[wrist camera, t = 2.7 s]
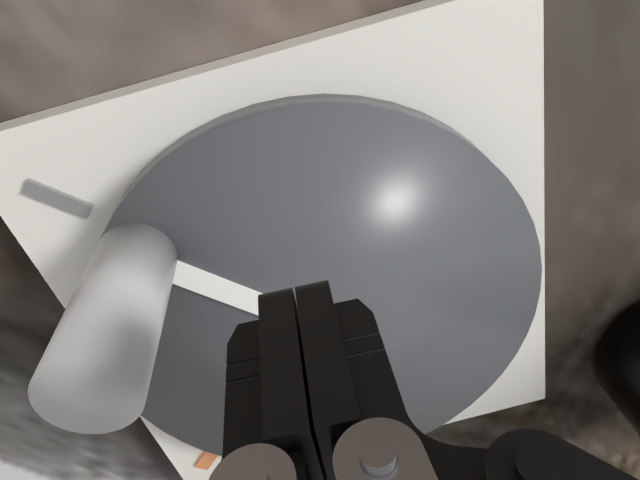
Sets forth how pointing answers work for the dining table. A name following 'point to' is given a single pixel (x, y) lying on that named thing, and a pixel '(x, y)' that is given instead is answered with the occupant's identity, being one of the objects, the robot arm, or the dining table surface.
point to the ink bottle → (622, 365)
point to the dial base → (277, 82)
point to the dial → (295, 263)
